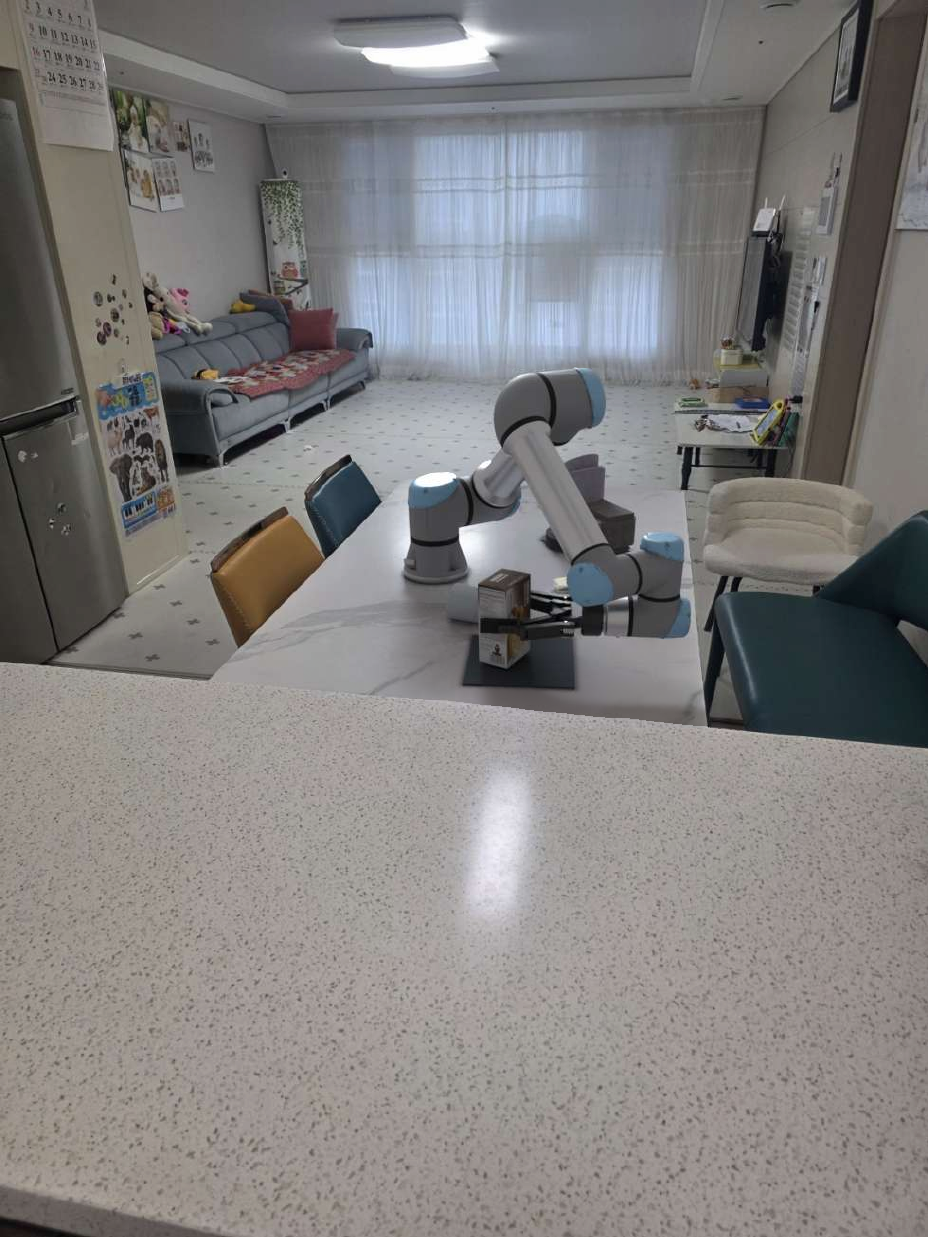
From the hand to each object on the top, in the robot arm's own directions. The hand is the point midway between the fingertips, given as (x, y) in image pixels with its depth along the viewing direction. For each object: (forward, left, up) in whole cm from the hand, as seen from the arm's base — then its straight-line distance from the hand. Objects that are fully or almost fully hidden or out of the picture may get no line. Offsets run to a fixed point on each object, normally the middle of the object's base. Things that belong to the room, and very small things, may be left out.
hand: (482, 612), depth 154 cm
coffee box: (0, +4, -9) cm, 10 cm away
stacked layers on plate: (-27, +17, -10) cm, 33 cm away
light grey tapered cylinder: (-19, -4, -10) cm, 22 cm away
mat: (0, +7, -10) cm, 12 cm away
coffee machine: (-62, +22, -10) cm, 67 cm away
